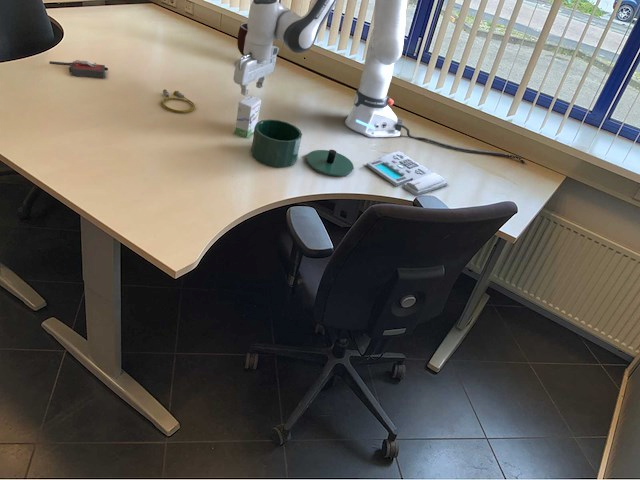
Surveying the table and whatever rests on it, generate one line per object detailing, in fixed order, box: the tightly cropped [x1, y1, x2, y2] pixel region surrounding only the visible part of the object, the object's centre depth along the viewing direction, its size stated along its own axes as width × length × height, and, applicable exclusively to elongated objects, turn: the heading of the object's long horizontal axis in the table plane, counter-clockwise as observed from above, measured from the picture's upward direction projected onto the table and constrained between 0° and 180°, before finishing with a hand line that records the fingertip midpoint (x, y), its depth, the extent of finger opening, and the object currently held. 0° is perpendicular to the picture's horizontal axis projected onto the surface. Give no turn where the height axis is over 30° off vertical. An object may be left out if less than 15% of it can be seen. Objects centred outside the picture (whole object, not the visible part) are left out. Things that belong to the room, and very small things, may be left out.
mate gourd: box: [235, 22, 248, 65], centre depth 237 cm, size 16×14×20 cm
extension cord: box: [160, 89, 196, 114], centre depth 198 cm, size 12×16×2 cm
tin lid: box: [306, 149, 354, 177], centre depth 185 cm, size 16×16×5 cm
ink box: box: [234, 94, 262, 139], centre depth 189 cm, size 8×5×12 cm, turn 162°
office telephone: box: [366, 150, 449, 196], centre depth 192 cm, size 23×3×20 cm
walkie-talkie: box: [48, 59, 109, 79], centre depth 201 cm, size 9×4×20 cm
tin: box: [250, 118, 303, 169], centre depth 180 cm, size 15×15×10 cm
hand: (251, 90), depth 184 cm, fingers open, 8 cm apart
